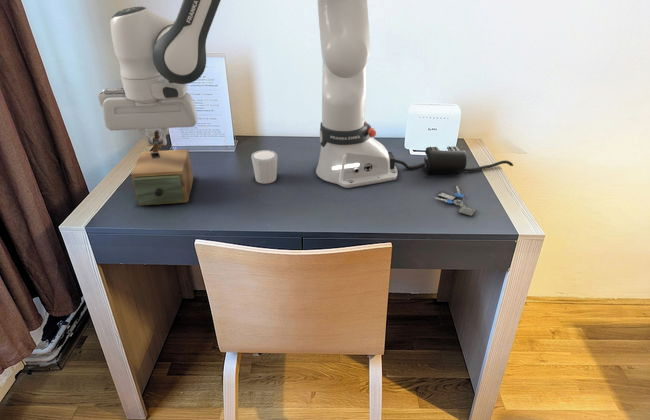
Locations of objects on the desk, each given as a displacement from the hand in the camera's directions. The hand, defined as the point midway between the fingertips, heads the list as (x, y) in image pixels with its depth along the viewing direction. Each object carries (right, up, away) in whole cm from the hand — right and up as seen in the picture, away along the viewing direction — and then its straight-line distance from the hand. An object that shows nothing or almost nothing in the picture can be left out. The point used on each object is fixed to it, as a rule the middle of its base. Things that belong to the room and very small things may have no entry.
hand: (157, 144), depth 103 cm
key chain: (+72, -14, +3) cm, 73 cm away
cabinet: (0, -11, +7) cm, 13 cm away
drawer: (0, -11, +4) cm, 12 cm away
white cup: (+24, -7, +13) cm, 29 cm away
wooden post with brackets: (0, -2, 0) cm, 2 cm away
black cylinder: (+73, -5, +17) cm, 75 cm away
